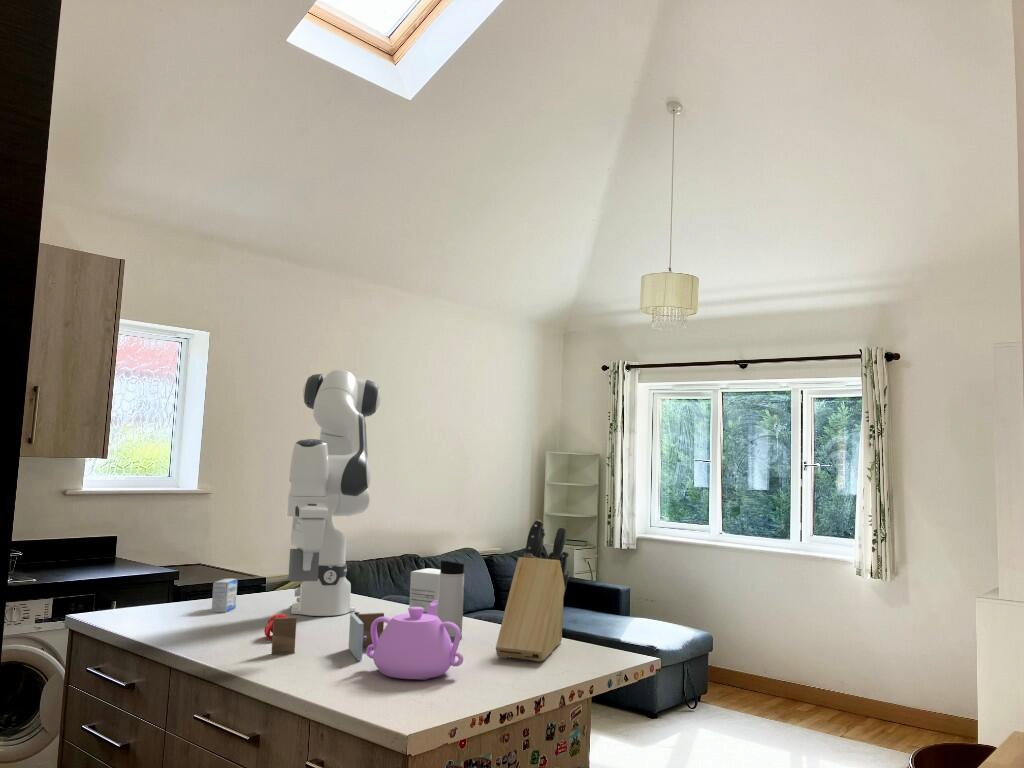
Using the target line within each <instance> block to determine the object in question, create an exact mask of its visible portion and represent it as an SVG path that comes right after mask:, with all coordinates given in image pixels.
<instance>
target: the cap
mask: <svg viewBox="0 0 1024 768" xmlns="http://www.w3.org/2000/svg"><path fill="white" fill-rule="evenodd" d="M284 617H288V616H287V615H286V614H283V613H282V614H281V613H280V614H279V613H278V614H274V615H273V616H271V617H270V618H269V619H268V621H267V625H266V626H265V627H264V629H263V630H264V635H265V637H266V639H267V640H272V638H273V636H271V634H273V621H274V618H284Z"/></svg>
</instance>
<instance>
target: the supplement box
mask: <svg viewBox="0 0 1024 768" xmlns="http://www.w3.org/2000/svg"><path fill="white" fill-rule="evenodd" d="M440 572H441V568H440V569H439V568H438V569H437V568H432V567H431V568H430V567H429V568H428V567H427V568H421V569H416V570H413V571H410V580H409V581H410V582H409V583H410V584H409V585H410V586H409V588H410V589H409V606H408V608H410V607H422V608H424V611H423V614H427V611H428V608H429V605H430V603H431V602H432V601H434V600H438V605H437V609H436V616H437V617H438V615H439V591H440Z"/></svg>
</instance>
